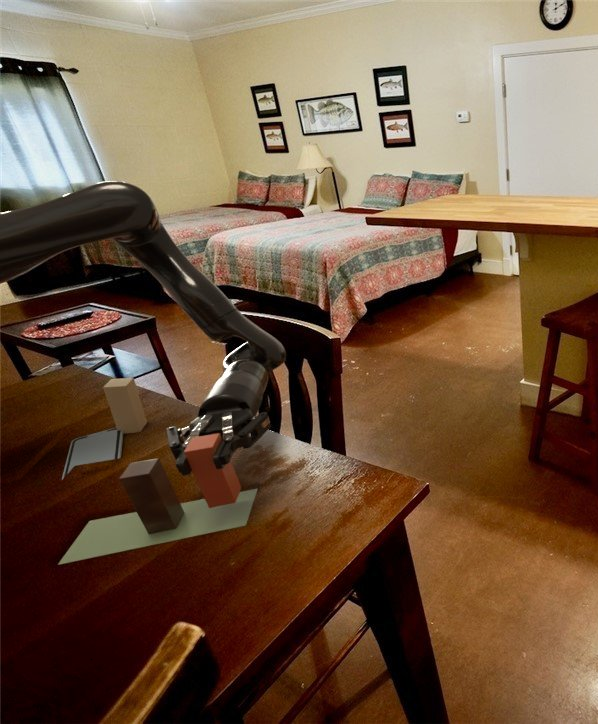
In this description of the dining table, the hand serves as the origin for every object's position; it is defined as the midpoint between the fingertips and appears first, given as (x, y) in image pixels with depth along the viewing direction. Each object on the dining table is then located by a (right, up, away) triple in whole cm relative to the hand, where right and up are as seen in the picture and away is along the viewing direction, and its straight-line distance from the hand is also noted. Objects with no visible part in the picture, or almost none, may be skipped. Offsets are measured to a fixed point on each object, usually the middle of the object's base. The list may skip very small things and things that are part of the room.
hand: (200, 466), depth 63 cm
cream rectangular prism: (-33, +1, +28) cm, 43 cm away
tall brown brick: (-8, -9, +5) cm, 13 cm away
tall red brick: (-1, -6, +6) cm, 8 cm away
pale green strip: (-8, -10, +5) cm, 14 cm away
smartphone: (-33, -3, +20) cm, 39 cm away
